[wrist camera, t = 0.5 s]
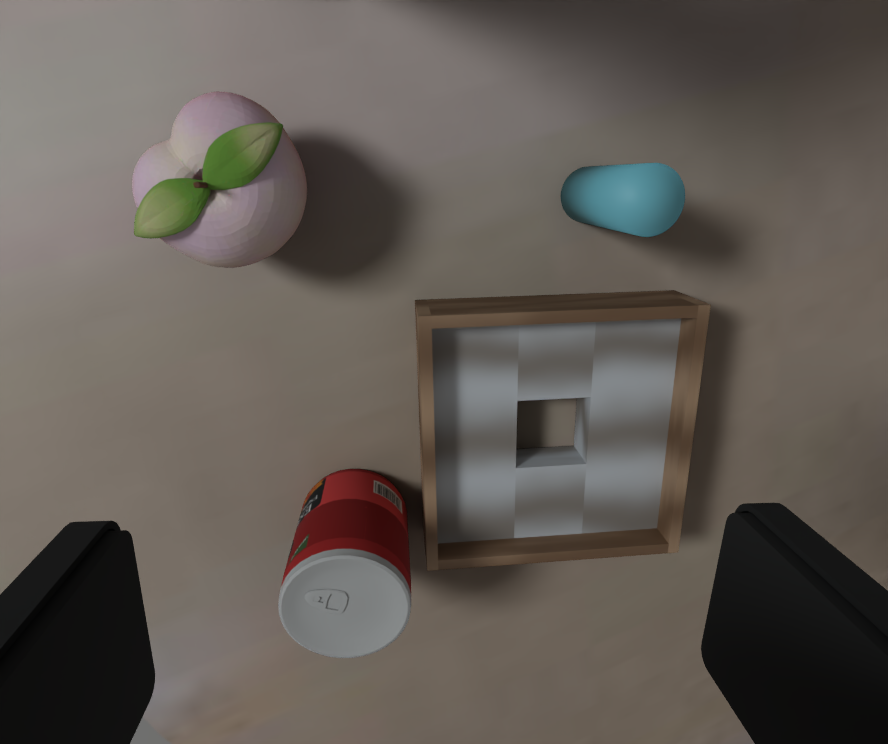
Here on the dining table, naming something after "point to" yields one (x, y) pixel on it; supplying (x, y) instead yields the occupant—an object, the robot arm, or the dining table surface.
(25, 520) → the dining table surface
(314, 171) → the dining table surface
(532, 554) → the bore box
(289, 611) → the canned food
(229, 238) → the decorative fruit
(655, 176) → the peg
